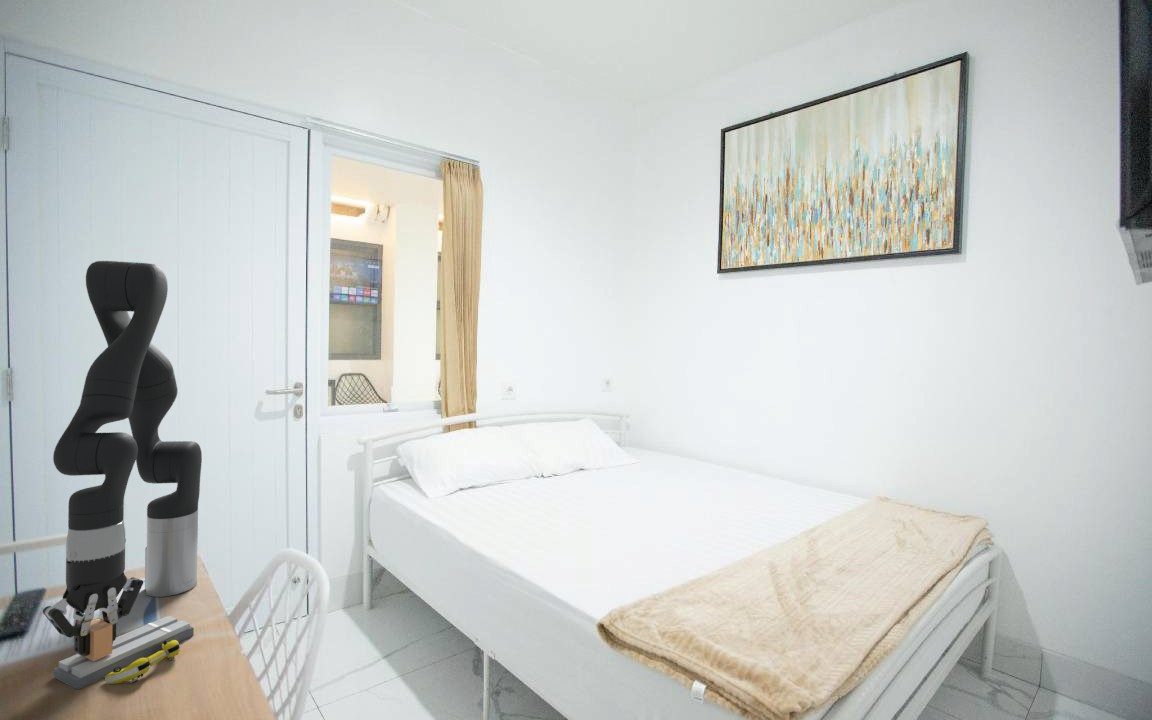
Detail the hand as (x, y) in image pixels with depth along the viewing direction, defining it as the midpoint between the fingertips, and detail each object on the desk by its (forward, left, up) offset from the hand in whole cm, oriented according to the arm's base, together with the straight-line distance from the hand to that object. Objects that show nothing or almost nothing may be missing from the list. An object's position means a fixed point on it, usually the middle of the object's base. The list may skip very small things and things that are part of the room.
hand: (95, 649), depth 92 cm
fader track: (0, +5, -4) cm, 6 cm away
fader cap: (0, 0, -2) cm, 2 cm away
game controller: (+7, +4, -4) cm, 9 cm away
